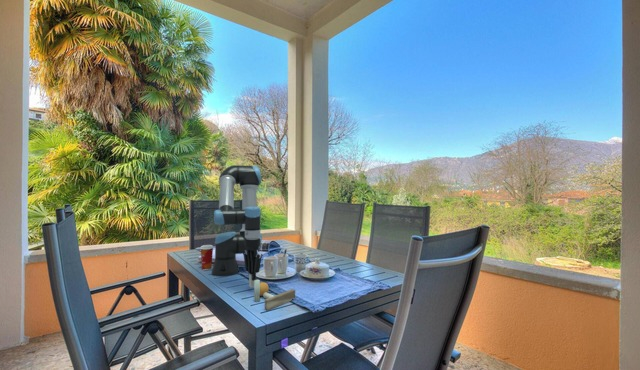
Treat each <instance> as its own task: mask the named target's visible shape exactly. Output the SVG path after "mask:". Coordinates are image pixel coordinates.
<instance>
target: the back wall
mask: <svg viewBox="0 0 640 370" xmlns="http://www.w3.org/2000/svg"><path fill="white" fill-rule="evenodd" d="M293 298H295V299H296V289H293V288H291V289H289V290H286V291H284V292H281V293H278V294H276V295H274V296H273V297H270V298H268V299H266V298H264V310H265V311H271V310H273V309H276V308H277V307H280V306H282V305H284V304H286V303H289V302H291V299H293Z"/></svg>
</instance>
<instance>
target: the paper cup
mask: <svg viewBox="0 0 640 370" xmlns="http://www.w3.org/2000/svg"><path fill="white" fill-rule="evenodd" d="M199 249H200V261H201V262H200V263H201V270H203V269H208V270H212V268H213V252H214V246H213V245H212V244H203V245H201V246H200V247H199Z"/></svg>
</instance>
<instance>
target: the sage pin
mask: <svg viewBox="0 0 640 370" xmlns="http://www.w3.org/2000/svg"><path fill="white" fill-rule="evenodd" d="M260 283H261V280H260V279H256V280H254V287H253V289H254V290H253V295H254V297H253V301H254V302H255V303H258V302H260V301H261V299H260V298H261V297H260Z"/></svg>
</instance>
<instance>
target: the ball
mask: <svg viewBox="0 0 640 370" xmlns="http://www.w3.org/2000/svg"><path fill="white" fill-rule="evenodd" d="M269 290H270V288H269V285H268V283H266V282H264V281H260V296H261V297H263V294H264V293H265V292H266V293H269Z"/></svg>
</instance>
